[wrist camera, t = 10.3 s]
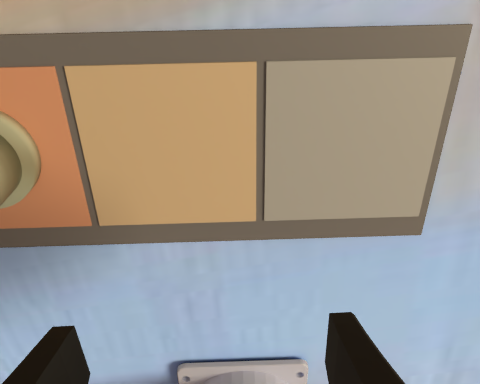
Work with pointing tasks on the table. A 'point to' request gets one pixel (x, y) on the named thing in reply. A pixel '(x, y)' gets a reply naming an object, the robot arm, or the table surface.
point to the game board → (229, 132)
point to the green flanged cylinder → (16, 161)
